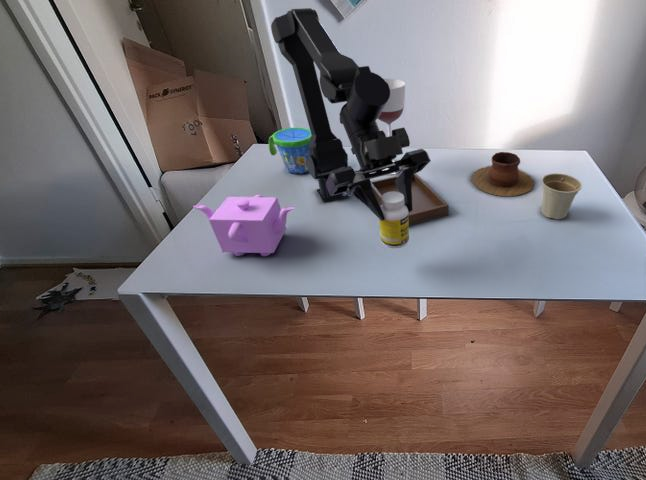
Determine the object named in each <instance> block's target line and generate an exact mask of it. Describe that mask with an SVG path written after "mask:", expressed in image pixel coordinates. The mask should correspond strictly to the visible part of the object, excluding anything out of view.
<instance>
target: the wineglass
mask: <svg viewBox="0 0 646 480" xmlns="http://www.w3.org/2000/svg"><path fill="white" fill-rule="evenodd" d="M383 79H384V80H385V82H387V83H388V85H389V88H390V97H389V99H388V101H387V103H386V105H385V107H384V109H383V110H382V112H381V114H380V116H379V117H378V119H377V120H379V121H380V122H383V123H385V124H387V137H389V136H392V125H391V124H392V123H394V122H396V121H397V120H398V119H399V118H400V117H401V116H402V115H403V112H404V108H405V103H406V102H405V101H406V100H405V99H406V83H405V81H403V80H401V79H396V78H383ZM394 161H395V160H394V159H392V162H394ZM387 169H388V168H387ZM387 169H384V170H387ZM382 171H383V170H382ZM390 175H396V173H391V174H390Z"/></svg>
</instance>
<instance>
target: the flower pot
mask: <svg viewBox="0 0 646 480" xmlns="http://www.w3.org/2000/svg"><path fill="white" fill-rule="evenodd" d="M541 184H542V199H541V200H542V201H541V214H542V215H543V216H544V217H546V218H548V219H553V220H563V219H564V218H566V217H567V215H568V213H569V210H570V208H571V206H572V204H573V202H574V200H575V197H576V195H577V194H578V192H579V191H581V189H582V187H583V184H582V182H581V181H580V180H579V179H578V178H577V177H574V176H572V175H569V174H565V173H558V172H557V173H556V172H555V173H548V174H546V175H543V176H542V178H541Z"/></svg>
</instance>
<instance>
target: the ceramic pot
mask: <svg viewBox="0 0 646 480" xmlns="http://www.w3.org/2000/svg"><path fill="white" fill-rule="evenodd" d="M520 164H521V158H520V156H518V155H517V154H516V153H513V152H508V151H499V152H495V153H494V154H493V155H492V156H491V165H490V166H485V167H481V168H478V169H477V170H476V171H474V172H473V174H472V175H471V177H470V181H471V183H472V184H473V185H474V187H476V188H477V189H478V190H481V191H482V192H484V193H487V194H490V195H495V196H499V197H513V196H520V195H523V194H527V193H528V192H531V191H532V190H533V188H534V183H535V182H534V179H533V178H532V177H531V175H529V174H527V173H526V172H524V171H522V170H520V169H519V165H520Z"/></svg>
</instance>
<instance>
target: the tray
mask: <svg viewBox="0 0 646 480" xmlns="http://www.w3.org/2000/svg"><path fill="white" fill-rule="evenodd" d="M396 179H397V176H396V175H393V176H389V177H384V178H379V179H375V180H370V182H371V187H372V190H373V193H374V195H375V197H376V199H377V201H378V203H379V205H380V206H381V205H382V195H383V194H385V193H387V192H392V191H394V192H399V190H398V188H397V186H396V184H395V180H396ZM411 189H412V211H411V212H409V211H408V219H409V226H410V225H414V224H418V223H421V222H425V221H429V220H432V219H436V218H440V217H444V216H446V215H449V214H450V213H449V212H450V205H449V204H448V203H447V202H446V201H445V200H444V199H443V198H442V197H441V196H440V195H439V194H438V193H437V192H436V191H435V190H434V188H432V187H431V186H430V185H429V184H428V183H427V182H426V181H425V180H424V179H423V178H422V177H421V176H420V175H419V174H418V173H414V174H413V177H412V186H411Z"/></svg>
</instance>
